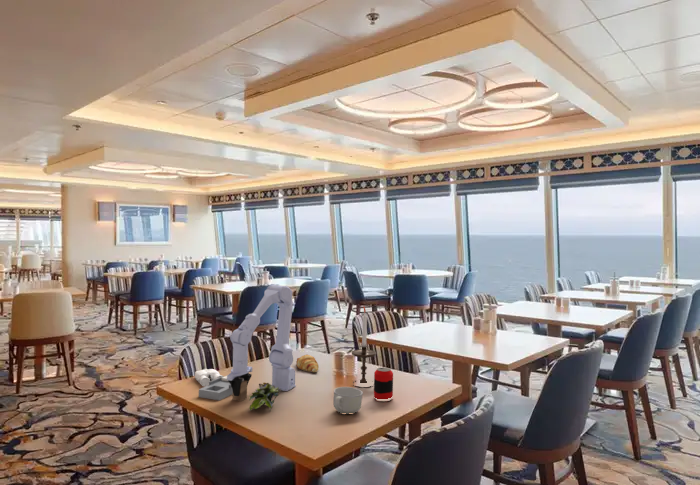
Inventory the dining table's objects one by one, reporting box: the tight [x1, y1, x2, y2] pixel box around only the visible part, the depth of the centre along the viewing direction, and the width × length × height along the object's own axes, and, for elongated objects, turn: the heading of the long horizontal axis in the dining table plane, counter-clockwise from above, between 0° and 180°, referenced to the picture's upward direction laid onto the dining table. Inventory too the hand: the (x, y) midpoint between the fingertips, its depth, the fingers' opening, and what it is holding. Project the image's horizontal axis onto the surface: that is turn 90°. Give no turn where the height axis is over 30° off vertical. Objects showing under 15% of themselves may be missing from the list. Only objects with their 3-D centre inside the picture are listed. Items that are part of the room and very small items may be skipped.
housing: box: [198, 375, 233, 401], centre depth 199 cm, size 11×16×4 cm, turn 158°
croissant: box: [295, 354, 319, 373], centre depth 240 cm, size 21×10×8 cm
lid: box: [221, 367, 250, 381], centre depth 208 cm, size 8×8×3 cm
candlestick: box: [351, 306, 377, 383], centre depth 214 cm, size 11×11×35 cm
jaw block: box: [232, 378, 248, 402], centre depth 192 cm, size 4×4×8 cm
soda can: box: [373, 367, 394, 399], centre depth 195 cm, size 8×8×12 cm
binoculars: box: [194, 368, 223, 388], centre depth 216 cm, size 10×16×5 cm, turn 31°
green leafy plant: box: [248, 382, 282, 412], centre depth 182 cm, size 11×11×12 cm
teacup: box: [332, 386, 364, 414], centre depth 179 cm, size 14×11×8 cm
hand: (239, 394), depth 192 cm, fingers closed on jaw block, 4 cm apart
